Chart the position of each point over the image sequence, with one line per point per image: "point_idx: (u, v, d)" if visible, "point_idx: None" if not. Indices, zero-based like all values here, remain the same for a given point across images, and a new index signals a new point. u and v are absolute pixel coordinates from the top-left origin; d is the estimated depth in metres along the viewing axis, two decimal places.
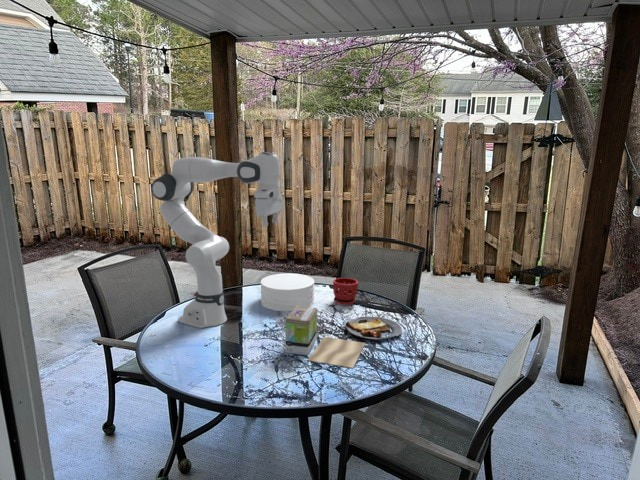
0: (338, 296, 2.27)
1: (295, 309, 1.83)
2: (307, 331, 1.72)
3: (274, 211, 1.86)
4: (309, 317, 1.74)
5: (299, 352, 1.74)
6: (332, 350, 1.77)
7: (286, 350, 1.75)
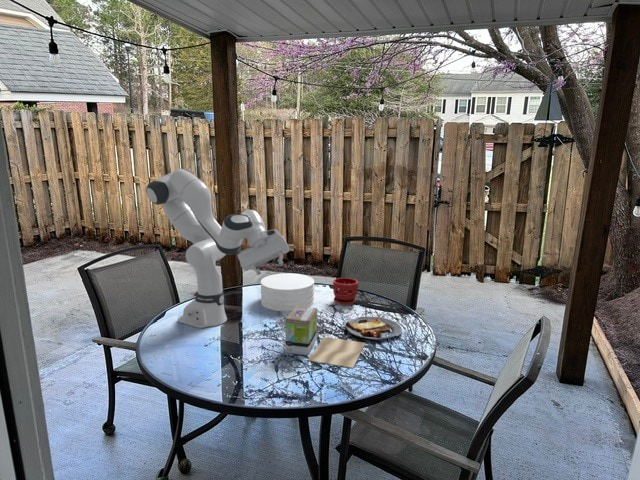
0: (338, 296, 2.27)
1: (295, 309, 1.83)
2: (307, 331, 1.72)
3: None
4: (309, 317, 1.74)
5: (299, 352, 1.74)
6: (332, 350, 1.77)
7: (286, 350, 1.75)
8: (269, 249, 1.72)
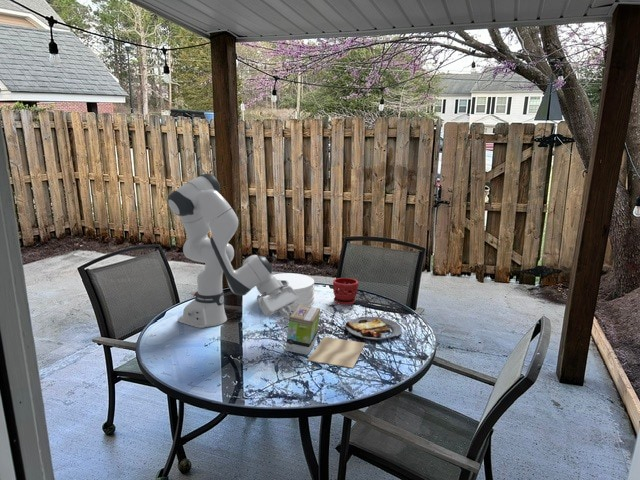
0: (338, 296, 2.27)
1: (299, 307, 1.82)
2: (309, 331, 1.71)
3: None
4: (312, 317, 1.74)
5: (299, 351, 1.74)
6: (332, 350, 1.77)
7: (286, 348, 1.75)
8: (286, 298, 1.83)
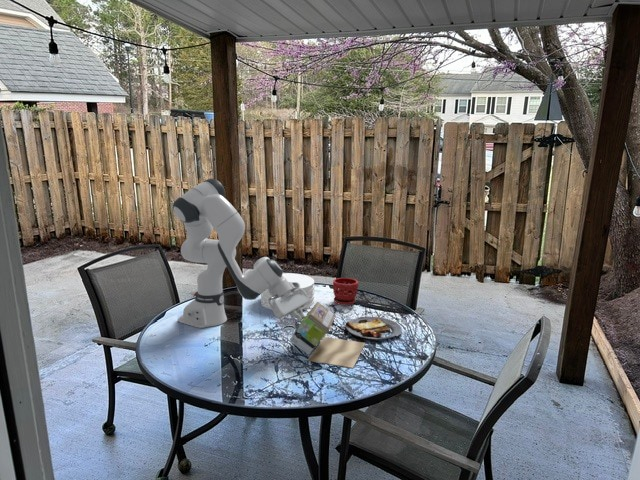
0: (338, 296, 2.27)
1: (318, 306, 1.80)
2: (321, 336, 1.71)
3: None
4: (329, 324, 1.73)
5: (302, 348, 1.73)
6: (332, 350, 1.77)
7: (291, 339, 1.73)
8: (298, 301, 1.80)
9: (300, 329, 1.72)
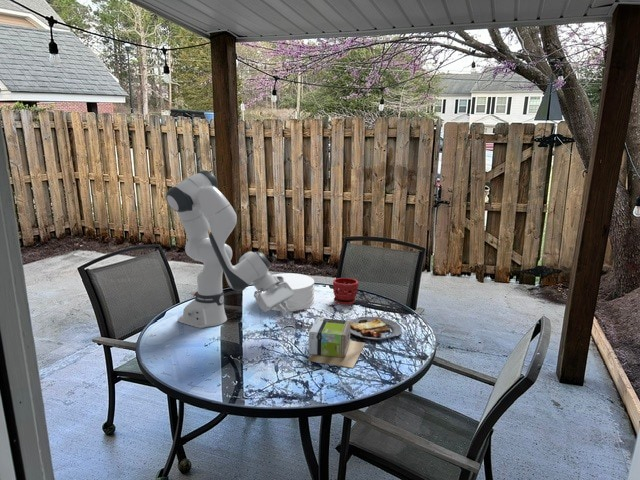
0: (338, 296, 2.27)
1: (349, 327, 1.79)
2: (333, 355, 1.71)
3: None
4: (346, 352, 1.74)
5: (310, 345, 1.73)
6: None
7: (311, 333, 1.71)
8: (282, 294, 1.86)
9: (326, 335, 1.70)
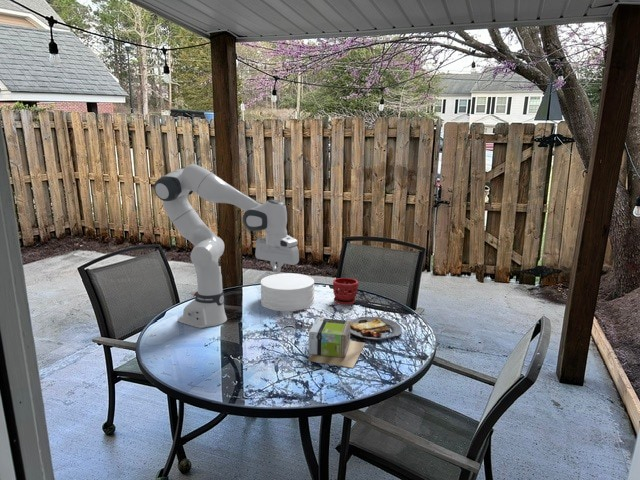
0: (338, 296, 2.27)
1: (349, 327, 1.79)
2: (333, 355, 1.71)
3: None
4: (346, 352, 1.74)
5: (310, 345, 1.73)
6: None
7: (311, 333, 1.71)
8: (279, 257, 1.80)
9: (326, 335, 1.70)
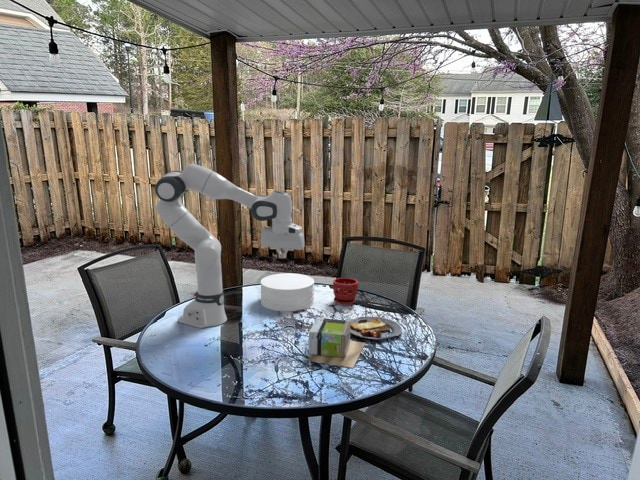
0: (338, 296, 2.27)
1: (349, 327, 1.79)
2: (333, 355, 1.71)
3: None
4: (346, 352, 1.74)
5: (310, 345, 1.73)
6: None
7: (311, 333, 1.71)
8: (286, 243, 1.95)
9: (326, 335, 1.70)
